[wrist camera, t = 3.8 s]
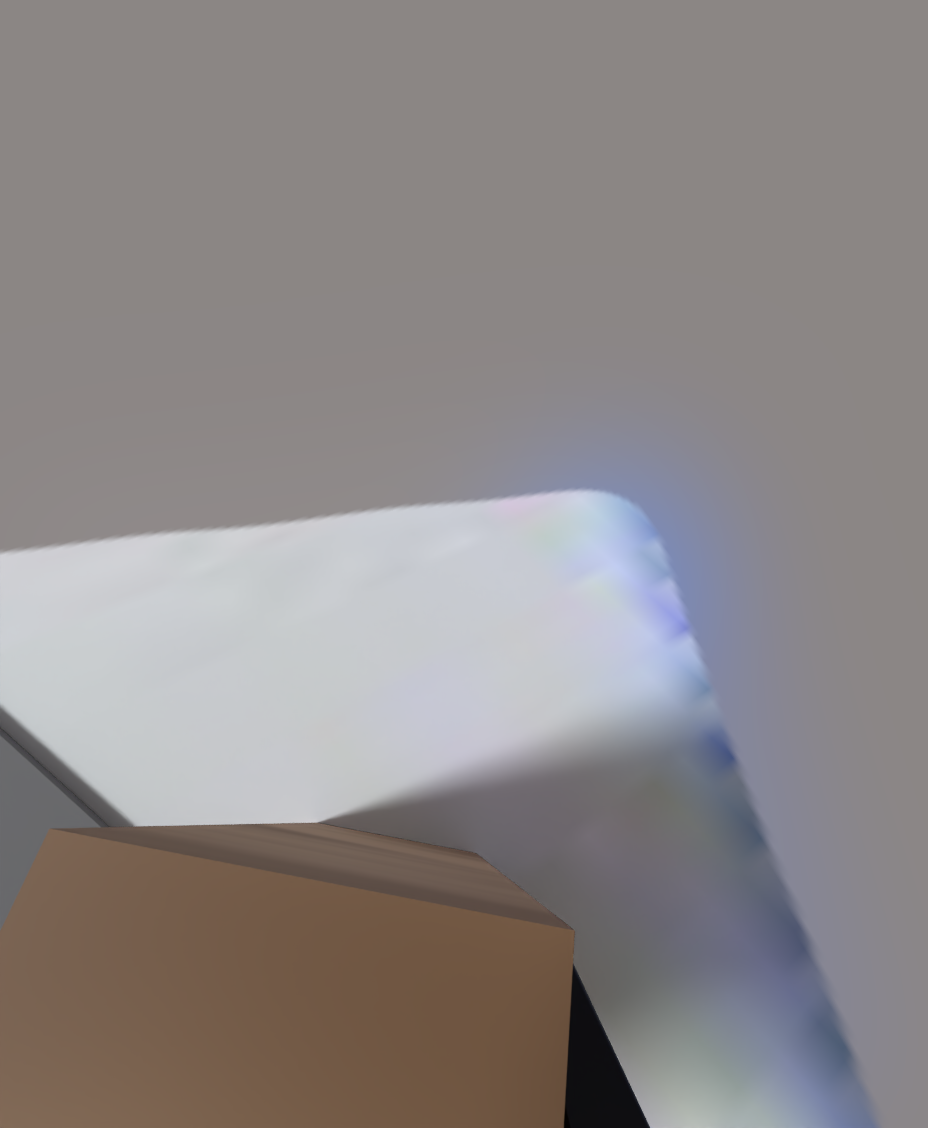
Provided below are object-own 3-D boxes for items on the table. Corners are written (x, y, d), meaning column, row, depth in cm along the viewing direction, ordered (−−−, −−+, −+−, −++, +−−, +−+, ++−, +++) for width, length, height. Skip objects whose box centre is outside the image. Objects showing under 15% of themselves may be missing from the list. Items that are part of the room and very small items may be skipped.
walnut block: (446, 1070, 12) (501, 2203, 2) (259, 1032, 12) (-485, 1938, 2) (475, 853, 14) (575, 930, 4) (316, 823, 14) (50, 828, 4)
